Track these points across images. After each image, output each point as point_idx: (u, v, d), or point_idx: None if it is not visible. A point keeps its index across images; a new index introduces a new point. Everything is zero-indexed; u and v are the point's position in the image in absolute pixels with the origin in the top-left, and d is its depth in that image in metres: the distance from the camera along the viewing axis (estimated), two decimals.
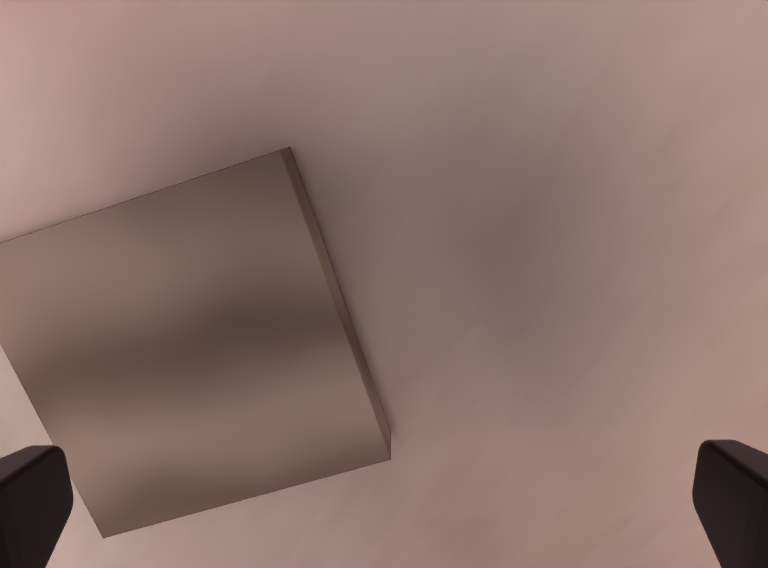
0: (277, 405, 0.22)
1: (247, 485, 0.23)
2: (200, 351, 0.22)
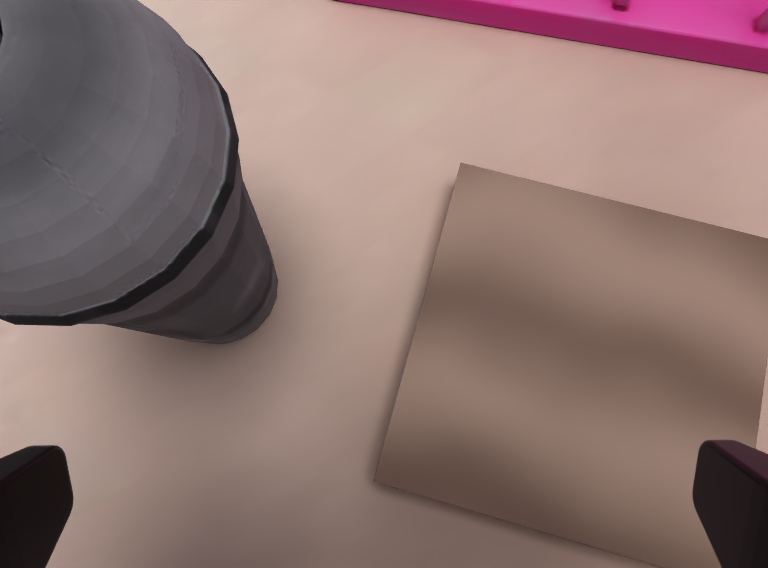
0: (650, 453, 0.20)
1: (565, 519, 0.20)
2: (610, 356, 0.21)
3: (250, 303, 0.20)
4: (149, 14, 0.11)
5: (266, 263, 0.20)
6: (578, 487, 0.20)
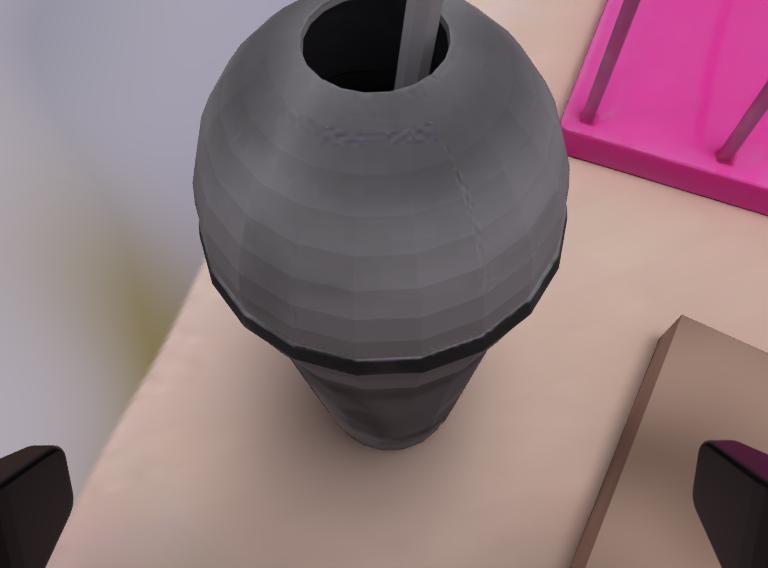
0: None
1: None
2: None
3: (447, 410, 0.18)
4: None
5: None
6: None
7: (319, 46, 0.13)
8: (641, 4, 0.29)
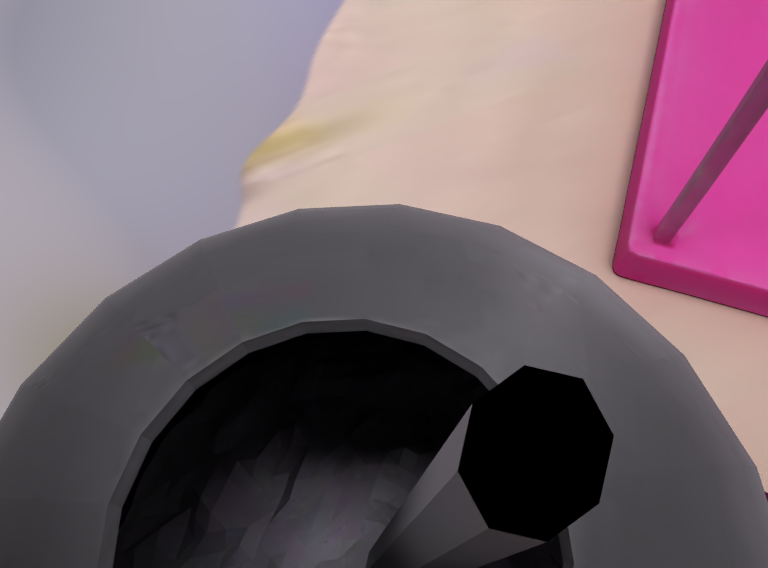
0: None
1: None
2: None
3: None
4: None
5: None
6: None
7: None
8: (706, 69, 0.23)
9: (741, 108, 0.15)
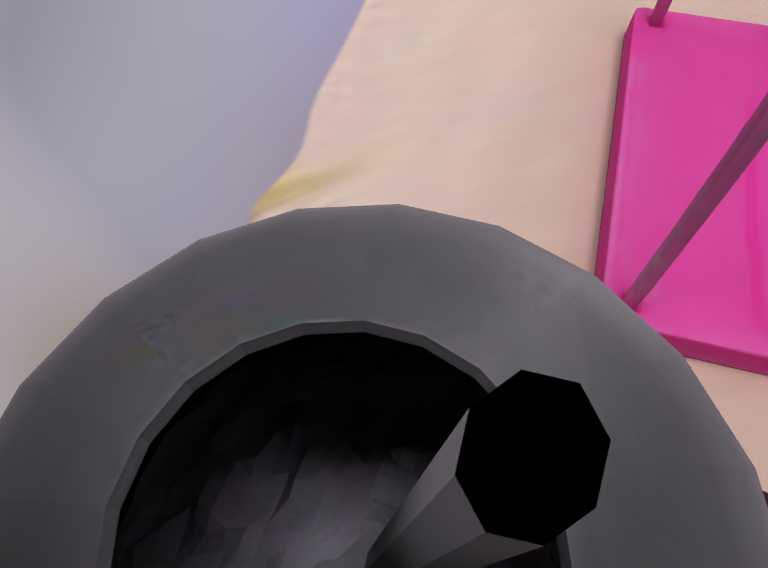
0: None
1: None
2: None
3: None
4: None
5: None
6: None
7: None
8: (658, 140, 0.26)
9: (686, 217, 0.17)
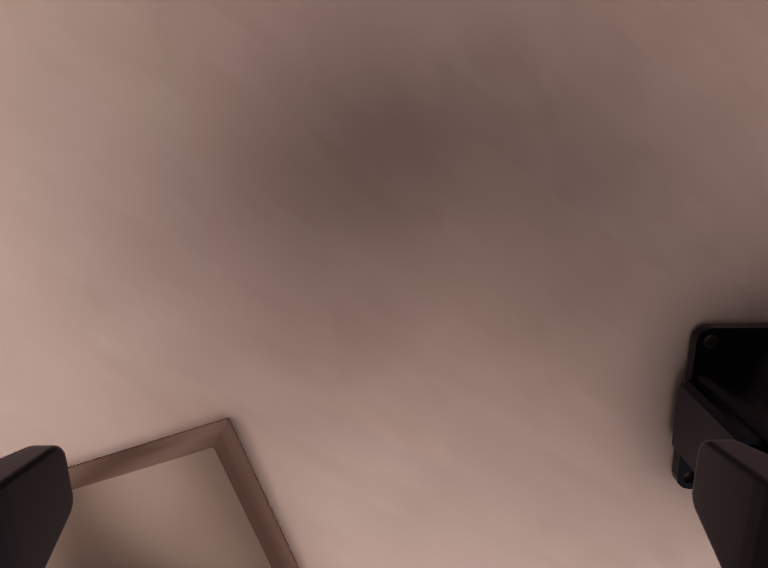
0: (165, 547, 0.22)
1: None
2: None
3: None
4: None
5: None
6: None
7: None
8: None
9: None
